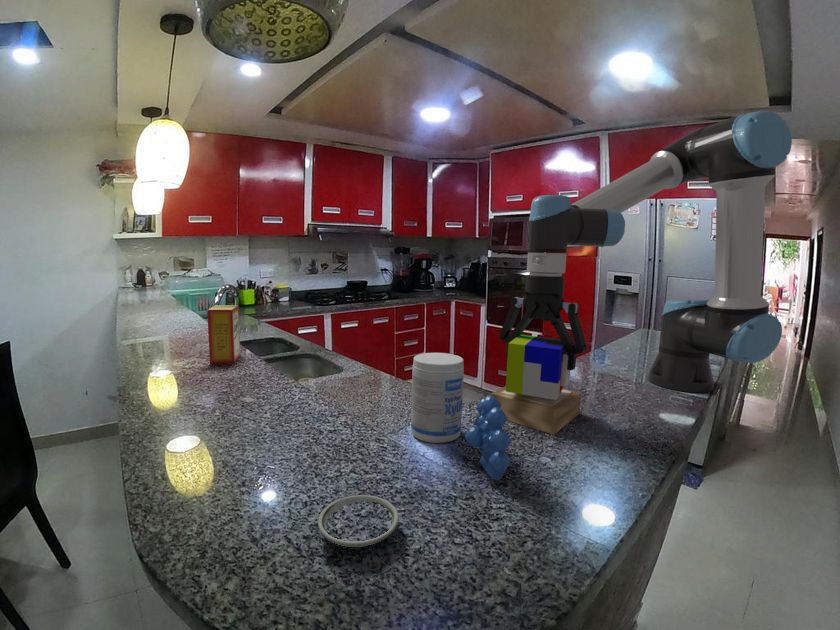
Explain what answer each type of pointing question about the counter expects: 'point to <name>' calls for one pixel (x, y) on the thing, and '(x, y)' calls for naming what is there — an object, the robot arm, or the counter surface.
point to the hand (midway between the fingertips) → (537, 378)
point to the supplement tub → (437, 397)
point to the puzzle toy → (535, 366)
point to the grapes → (490, 437)
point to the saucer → (349, 500)
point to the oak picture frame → (539, 409)
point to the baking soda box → (223, 333)
